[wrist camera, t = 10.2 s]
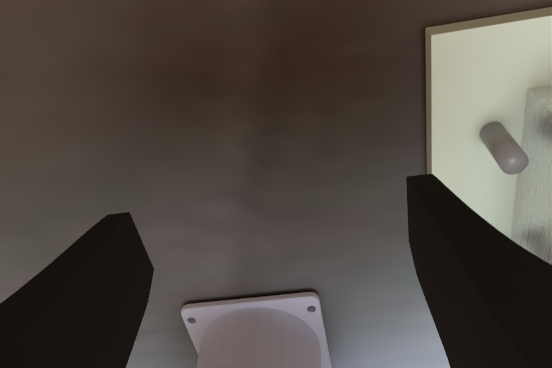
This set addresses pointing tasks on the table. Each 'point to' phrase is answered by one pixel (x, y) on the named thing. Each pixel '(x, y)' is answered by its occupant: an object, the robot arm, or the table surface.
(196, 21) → the table surface
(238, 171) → the table surface
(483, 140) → the peg board
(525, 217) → the block
